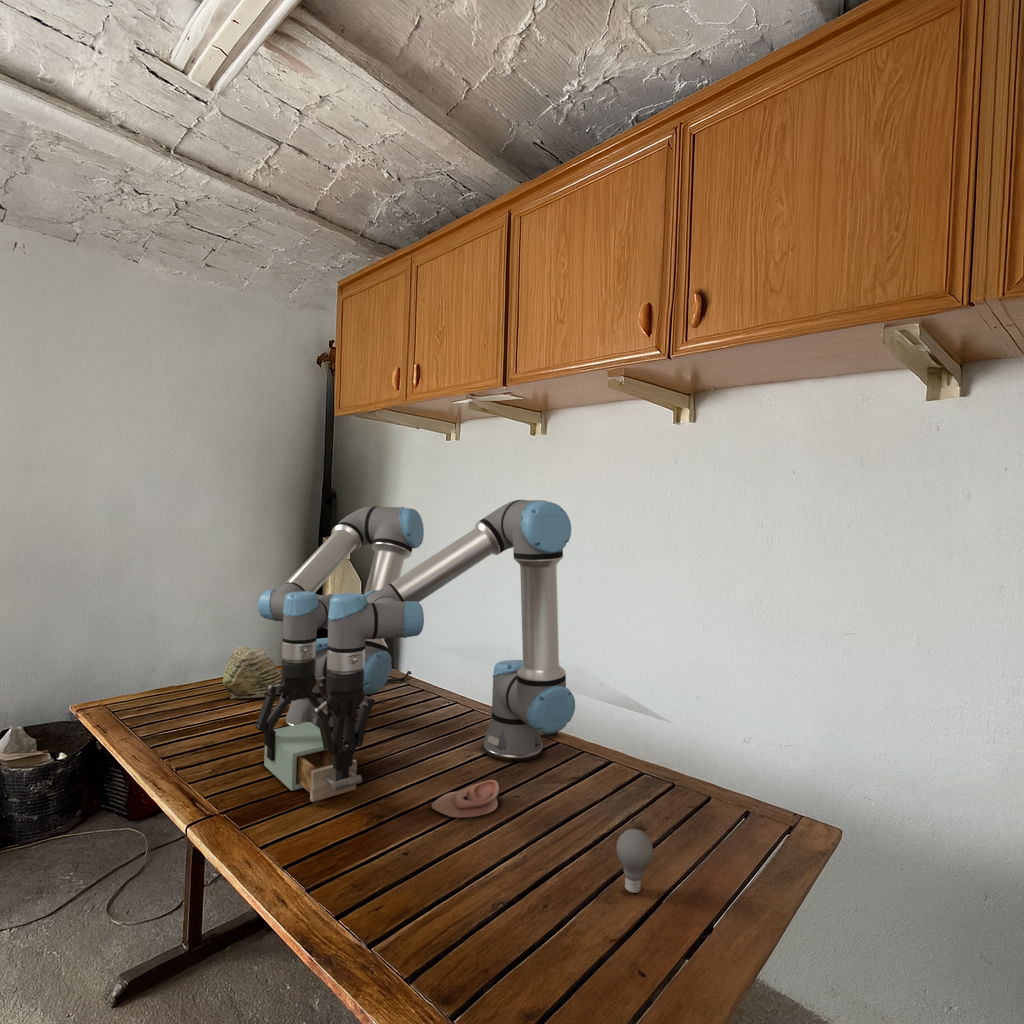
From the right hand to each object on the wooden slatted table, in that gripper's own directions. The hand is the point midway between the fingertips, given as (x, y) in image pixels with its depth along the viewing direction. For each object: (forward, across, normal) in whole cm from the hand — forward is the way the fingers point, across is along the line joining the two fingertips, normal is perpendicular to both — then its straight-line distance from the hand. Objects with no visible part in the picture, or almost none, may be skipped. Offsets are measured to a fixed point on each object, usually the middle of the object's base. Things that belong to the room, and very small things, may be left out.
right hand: (342, 783), depth 130 cm
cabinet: (+5, 0, +20) cm, 21 cm away
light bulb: (+5, +25, -55) cm, 61 cm away
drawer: (+4, 0, +7) cm, 8 cm away
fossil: (+5, +10, +81) cm, 82 cm away
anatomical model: (+5, +20, -15) cm, 26 cm away
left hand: (+1, 0, +23) cm, 23 cm away
